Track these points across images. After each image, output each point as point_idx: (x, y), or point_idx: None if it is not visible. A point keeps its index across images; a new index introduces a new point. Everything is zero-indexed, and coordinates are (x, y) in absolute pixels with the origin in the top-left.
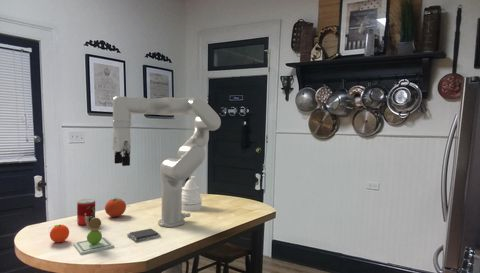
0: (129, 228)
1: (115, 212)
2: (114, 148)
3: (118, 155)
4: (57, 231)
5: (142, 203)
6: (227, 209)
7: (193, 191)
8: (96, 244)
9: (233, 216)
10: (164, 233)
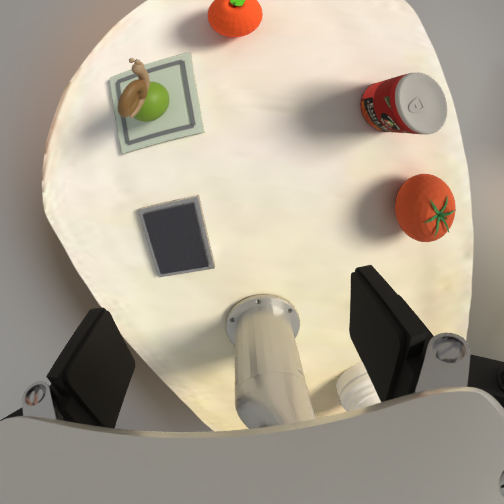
0: (272, 212)
1: (397, 198)
2: (293, 480)
3: (389, 368)
4: (211, 5)
5: (465, 289)
6: None
7: None
8: None
9: None
10: (184, 289)
